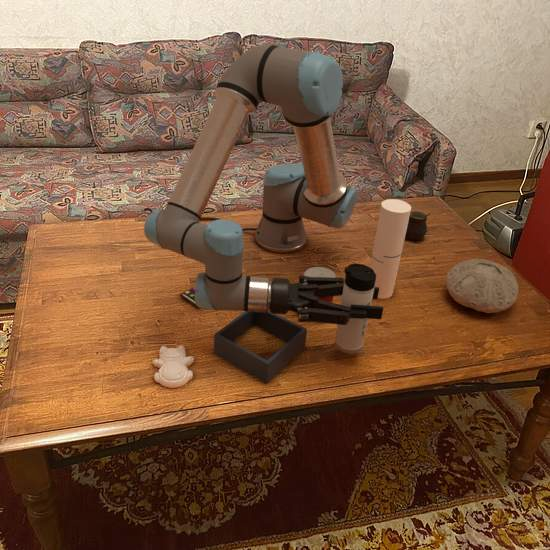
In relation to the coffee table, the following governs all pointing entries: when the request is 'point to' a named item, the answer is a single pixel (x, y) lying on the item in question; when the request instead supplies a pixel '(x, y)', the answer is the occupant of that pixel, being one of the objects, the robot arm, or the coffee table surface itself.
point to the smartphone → (189, 295)
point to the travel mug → (355, 293)
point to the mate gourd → (416, 225)
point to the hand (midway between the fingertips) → (379, 302)
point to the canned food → (321, 273)
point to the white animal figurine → (173, 367)
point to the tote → (251, 361)
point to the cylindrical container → (389, 244)
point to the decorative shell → (482, 285)
